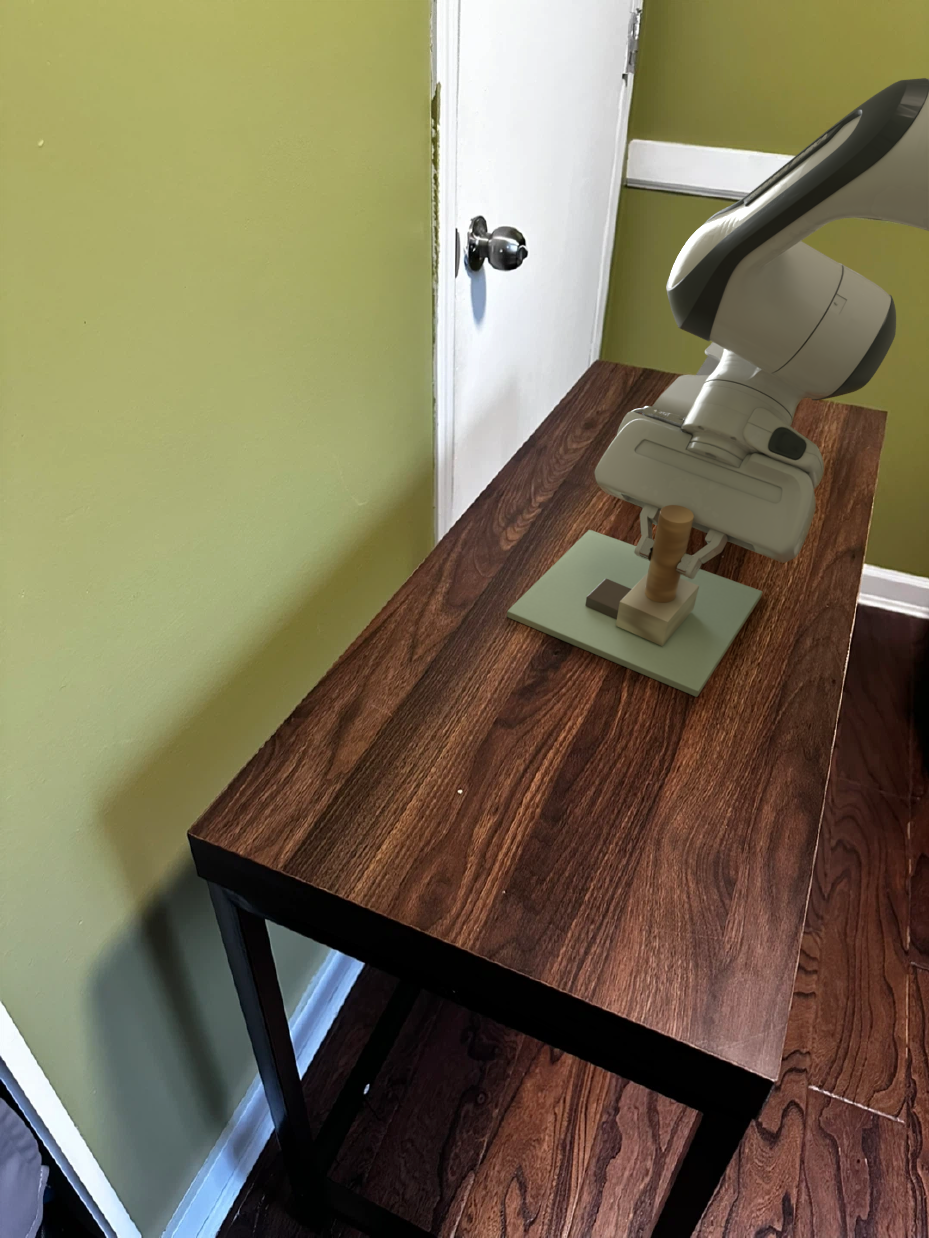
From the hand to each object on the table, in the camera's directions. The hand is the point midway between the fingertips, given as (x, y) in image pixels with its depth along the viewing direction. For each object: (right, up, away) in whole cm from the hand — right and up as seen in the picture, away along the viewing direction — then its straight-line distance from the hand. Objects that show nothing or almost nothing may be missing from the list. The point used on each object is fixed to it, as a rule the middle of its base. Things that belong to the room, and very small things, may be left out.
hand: (663, 566), depth 79 cm
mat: (-1, -4, +7) cm, 8 cm away
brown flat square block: (-4, -3, +6) cm, 8 cm away
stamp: (0, -5, +5) cm, 7 cm away
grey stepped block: (+12, +15, +32) cm, 37 cm away
